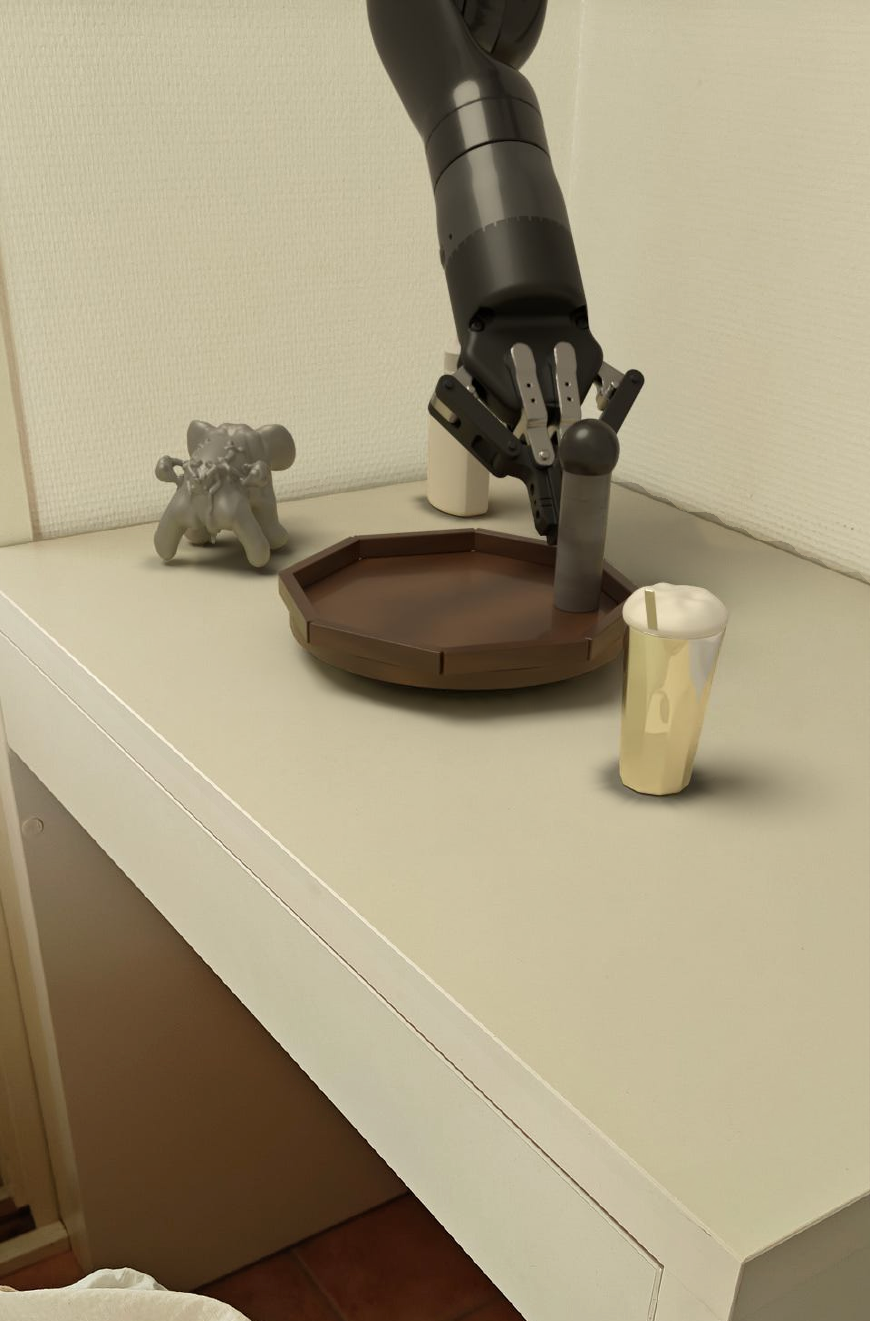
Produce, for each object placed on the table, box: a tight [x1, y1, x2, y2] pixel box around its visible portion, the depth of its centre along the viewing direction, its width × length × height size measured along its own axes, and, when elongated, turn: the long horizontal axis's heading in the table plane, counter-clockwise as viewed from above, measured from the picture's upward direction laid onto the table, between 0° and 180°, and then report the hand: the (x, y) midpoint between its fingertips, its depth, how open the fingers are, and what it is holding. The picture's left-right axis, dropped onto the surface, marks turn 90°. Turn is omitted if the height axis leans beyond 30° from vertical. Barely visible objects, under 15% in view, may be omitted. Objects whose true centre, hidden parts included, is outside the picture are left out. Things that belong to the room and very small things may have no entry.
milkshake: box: [618, 582, 729, 796], centre depth 61 cm, size 4×5×10 cm
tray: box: [277, 417, 641, 690], centre depth 73 cm, size 19×19×11 cm
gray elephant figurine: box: [153, 419, 297, 568], centre depth 89 cm, size 9×12×8 cm
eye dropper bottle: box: [426, 334, 493, 517], centre depth 96 cm, size 4×6×12 cm
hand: (567, 538), depth 76 cm, fingers closed
